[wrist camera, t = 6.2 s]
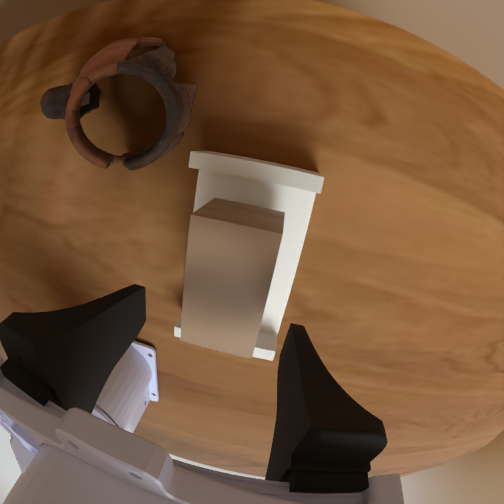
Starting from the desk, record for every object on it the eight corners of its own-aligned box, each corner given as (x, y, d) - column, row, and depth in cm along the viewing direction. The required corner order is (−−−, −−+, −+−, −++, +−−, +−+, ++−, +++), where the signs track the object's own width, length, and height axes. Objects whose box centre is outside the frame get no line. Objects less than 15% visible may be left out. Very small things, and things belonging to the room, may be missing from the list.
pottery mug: (205, 29, 15) (195, 35, 10) (201, 132, 23) (193, 185, 17) (65, 49, 14) (6, 77, 8) (78, 141, 21) (38, 194, 16)
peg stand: (275, 337, 23) (272, 360, 21) (186, 315, 24) (174, 336, 21) (319, 172, 18) (324, 177, 15) (205, 150, 18) (190, 151, 16)
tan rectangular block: (259, 317, 20) (251, 358, 16) (200, 303, 20) (180, 340, 16) (284, 212, 17) (282, 234, 13) (214, 197, 17) (190, 214, 13)
